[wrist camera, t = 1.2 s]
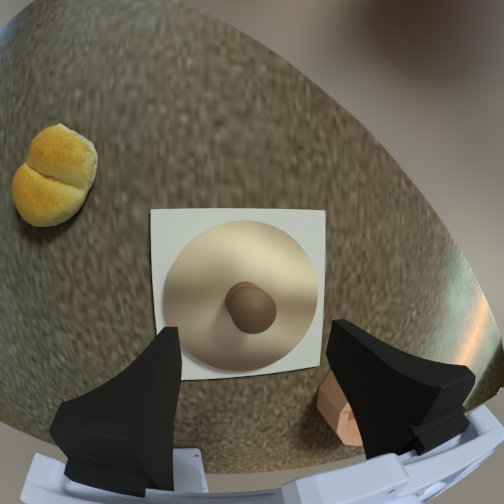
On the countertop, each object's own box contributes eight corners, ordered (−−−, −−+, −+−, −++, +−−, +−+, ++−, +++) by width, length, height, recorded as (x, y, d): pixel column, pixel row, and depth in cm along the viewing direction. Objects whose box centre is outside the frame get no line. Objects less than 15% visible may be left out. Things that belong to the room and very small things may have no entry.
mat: (317, 363, 26) (319, 365, 25) (163, 377, 23) (163, 380, 22) (322, 210, 25) (325, 210, 24) (151, 210, 22) (150, 209, 21)
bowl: (381, 409, 29) (403, 427, 24) (313, 430, 27) (330, 456, 22) (395, 341, 28) (423, 356, 23) (321, 358, 26) (345, 380, 21)
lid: (310, 358, 25) (330, 378, 21) (172, 370, 22) (170, 396, 18) (315, 221, 24) (339, 219, 20) (162, 221, 21) (156, 219, 17)
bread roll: (12, 203, 19) (-11, 199, 15) (56, 121, 19) (38, 106, 15) (66, 246, 20) (45, 248, 16) (115, 156, 21) (102, 142, 17)
